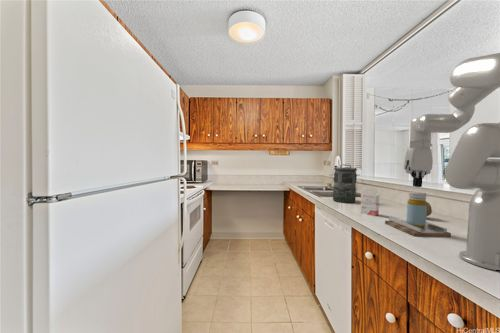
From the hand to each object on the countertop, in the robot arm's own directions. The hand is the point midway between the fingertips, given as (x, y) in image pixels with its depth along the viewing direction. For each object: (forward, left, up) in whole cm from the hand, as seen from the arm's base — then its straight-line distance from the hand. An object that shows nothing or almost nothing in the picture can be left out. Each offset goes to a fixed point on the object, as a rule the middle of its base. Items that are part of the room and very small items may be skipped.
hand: (417, 186), depth 101 cm
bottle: (0, 0, -18) cm, 18 cm away
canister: (+69, 0, -20) cm, 72 cm away
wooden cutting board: (0, 0, -18) cm, 18 cm away
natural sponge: (+23, -22, -20) cm, 37 cm away
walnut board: (0, 0, -20) cm, 20 cm away
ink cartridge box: (+29, +4, -20) cm, 35 cm away
